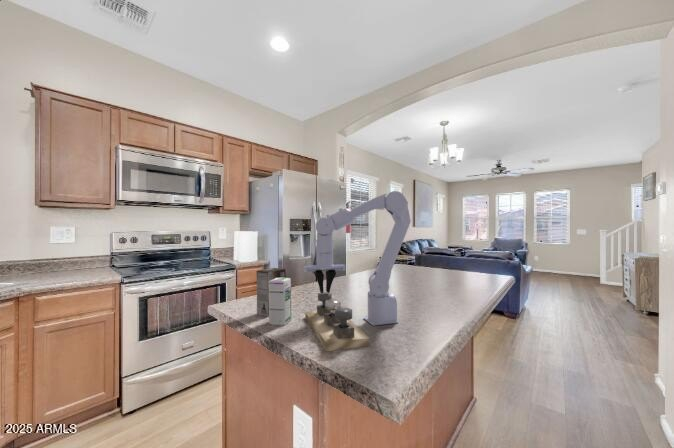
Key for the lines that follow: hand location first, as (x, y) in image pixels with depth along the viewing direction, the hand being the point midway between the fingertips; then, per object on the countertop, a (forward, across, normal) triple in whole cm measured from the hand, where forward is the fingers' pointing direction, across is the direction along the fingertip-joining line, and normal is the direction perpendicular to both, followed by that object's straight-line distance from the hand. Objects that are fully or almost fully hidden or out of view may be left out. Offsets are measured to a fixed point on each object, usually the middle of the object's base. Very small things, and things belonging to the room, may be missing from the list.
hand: (324, 292), depth 94 cm
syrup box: (+10, +15, -2) cm, 18 cm away
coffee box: (+10, +17, -14) cm, 24 cm away
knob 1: (+5, 0, 0) cm, 5 cm away
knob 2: (+5, 0, +20) cm, 21 cm away
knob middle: (+5, 0, +10) cm, 11 cm away
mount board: (+9, 0, +10) cm, 14 cm away
